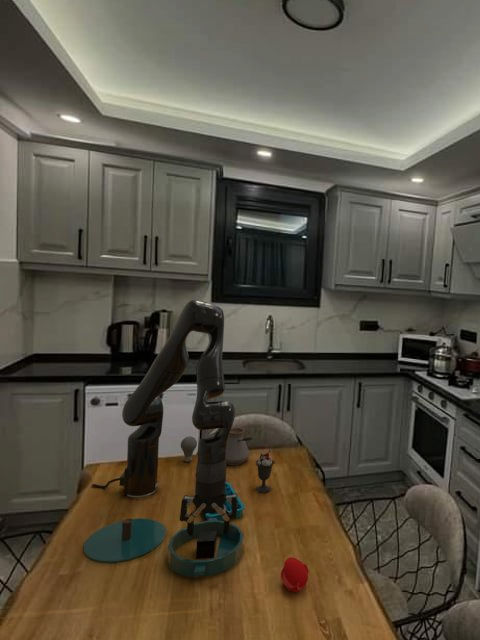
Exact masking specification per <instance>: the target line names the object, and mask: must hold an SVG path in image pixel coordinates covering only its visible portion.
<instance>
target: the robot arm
mask: <svg viewBox="0 0 480 640" xmlns="http://www.w3.org/2000/svg"><path fill="white" fill-rule="evenodd" d="M191 332H196V333H201V334H206V335H207V336H208V343H207V344H208V345H207V347H206V348H205V350H204V352H203V353H202V354H201V355H200V358H199V359H198V361H197V364H196V367H195V368H196V369H195V373H196V374H195V376H196V377H195V378H196V398H195V403H194V407H193V411H192V416H191V421H192V425H193V426H194V428H195V429H197V430H199V431H207V430H215V429H216V431H214V432H213V433H210V434H208V435H205V436H203V437H201V438H200V439H199V441H198V443H197V463H196V468H195V487H194V489H195V491H194V496H188V494H185V495H184V496H183V497H182V499H181V504H180V512H179V521H180V522H185V523H186V527H187V534H189V536H192V535H193V532H194V524H195V519H196V518H198V516H199V515H200V513H201V514H202V515H205V514H207V513H212V514H213V513H215V512H217V513H218V514H219V515H220V516H222V517H223V519H224V520H223V521H224V531H223V534H226V532H228V531H229V527H230V523H231V520H232V519H233V520H235V519H237V518H238V517H237V495H238V494H237V492H236V493H234V494H233V495H231V496H226V494H225V484H226V482H227V464H226V446H227V440H228V438H229V436H230V435H229V433H230V430H231V429H232V427H233V425H234V422H235V418H236V407H235V406H234V404H233V403H232V402H231V401H229V400H220V401H208V400H211V399H215V398H217V397H219V396H222V395H223V394H224V392H225V390H226V384H225V376H224V368H223V367H224V366H223V349H224V335H225V333H224V332H225V314H224V310H223V308H222V307H221V306H220V305H217V304H214V303H210V302H207V301H203V300H199V299H190V300H189V301H188V302H187V303H186V304H185V305H184V306H183V308H182V309H181V312H180V314H179V316H178V319H177V320H176V323H175V324H174V326H173V329H172V331H171V332H170V335H169V336H168V338H167V339H166V342H165V343H164V345H163V346H162V348H161V350H160V351H159V352H158V354H157V356H156V357H155V359H154V360H153V362H152V364H151V366H150V367H149V369H148V371H147V372H146V374H145V376H144V377H143V378H142V380H141V382H140V383H139V384H138V386H137V387H136V388H135V389H134V391H133V392H132V393H131V394H130V396H129V397H128V398H127V400H125V403H124V404H123V408H122V410H121V411H122V413H121V416H122V421H123V422H124V424H125V425H127V426H128V427H138V428H136V429H135V430H134V431H133V432H132V433H130V434H129V435H128V437H127V449H126V450H127V451H126V453H127V454H126V458H127V459H126V467H125V468H124V470H123V473H122V474H121V475H120V476H119V477H117V478H114V479H111V480H109V481H107V483H106V484H105V485H100V484H96V483H92V484H91V487H95V488H99V489H105V488H108V486H110V484H112V483H114V482H117V481H118V482H119V487H123V497H128V498H130V499H142V498H147V497H149V496H153V495H155V494H156V493H157V492H158V486H159V481H158V472H159V447H160V437H161V435H162V431H163V422H164V403H163V400H162V398H161V395H162V394H163V393H165V392H167V391H168V390H169V389H170V388H172V387H173V386H174V385H175V384H176V383H177V382H178V381H179V380H180V379H181V377H182V376H183V375H184V373H185V371H186V369H187V368H188V365H189V361H190V358H189V352H188V348H187V338H188V336H189V335H190V333H191ZM226 501H228V502H229V504H232V512H230V513H229V511H228V510H227V509H226V507H225V505H224V503H225V502H226ZM191 503H192V504H193V505H194V506H195V507H194V509H193V510H192V511H191V512H190V513H187V512H188V507H189V506H190V505H191Z"/></svg>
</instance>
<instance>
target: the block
mask: <svg viewBox="0 0 480 640" xmlns="http://www.w3.org/2000/svg"><path fill="white" fill-rule="evenodd" d="M217 541H218V535H217V531H207V532H200V533H199V536H198V537H197V540H196V548H195V549H196V550H195V560H206V559H213V558H215V556H216V555H215V554H216V552H217V551H216V550H217Z"/></svg>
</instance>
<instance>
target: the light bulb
mask: <svg viewBox="0 0 480 640" xmlns="http://www.w3.org/2000/svg"><path fill="white" fill-rule="evenodd" d="M197 447H198V441H197V439H196V438H195V437H194V436H192V435H191V436H189V435H188V436H186V437H184V438H183V439H182V440H181V442H180V448H181V449H180V450H182V452H183V455H184V462H187V463H189V462H191V461H192V459H193V458H192V457H193V455H194V451H195V450H196V448H197Z"/></svg>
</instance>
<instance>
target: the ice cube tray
mask: <svg viewBox="0 0 480 640" xmlns="http://www.w3.org/2000/svg"><path fill="white" fill-rule="evenodd" d="M193 491H194V492H195V488H194V489H193ZM234 493H236V494H237V492H236V490H235V489H234V487H233V486H232V485H231V483H230V482H228V481H226V484H225V494H226V496H231V495H233V494H234ZM224 505H225V507H226V509H227V510H228V511H229V513H230V512H232V504H229V502H228V501H226V502H225V503H224ZM245 508H246V506H245V505H244V502H242V500H241V499H240V497H239V495H238V494H237V517H236V518H240V517H241V516H242V511H244V510H245ZM204 516H205V518H206V521H208V520H209V518H217V520H219V521H224V519H223V517H222V516H220V515H219V514H218V513H217V512H215V513H213V514H212V513H207V514H204Z"/></svg>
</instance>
